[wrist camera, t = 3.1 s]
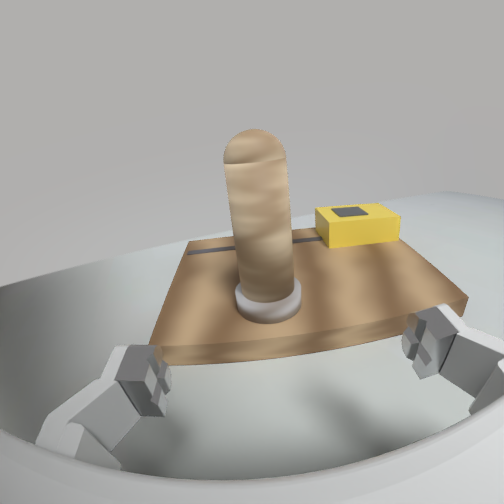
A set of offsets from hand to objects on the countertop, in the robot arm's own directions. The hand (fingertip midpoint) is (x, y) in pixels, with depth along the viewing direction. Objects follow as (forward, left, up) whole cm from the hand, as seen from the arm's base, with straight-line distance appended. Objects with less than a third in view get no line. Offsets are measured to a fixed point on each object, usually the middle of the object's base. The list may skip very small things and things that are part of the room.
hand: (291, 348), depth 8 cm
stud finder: (+12, +24, -7) cm, 28 cm away
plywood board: (+4, +18, -9) cm, 20 cm away
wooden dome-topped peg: (0, +12, -7) cm, 14 cm away
